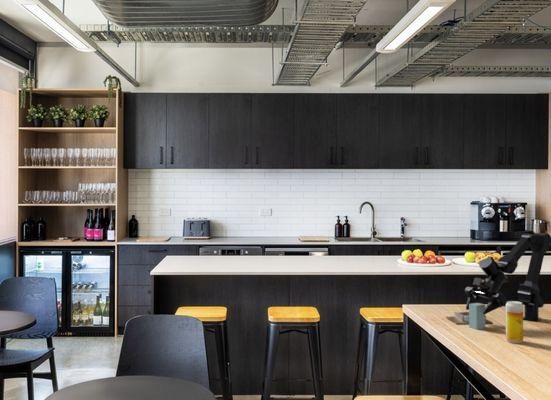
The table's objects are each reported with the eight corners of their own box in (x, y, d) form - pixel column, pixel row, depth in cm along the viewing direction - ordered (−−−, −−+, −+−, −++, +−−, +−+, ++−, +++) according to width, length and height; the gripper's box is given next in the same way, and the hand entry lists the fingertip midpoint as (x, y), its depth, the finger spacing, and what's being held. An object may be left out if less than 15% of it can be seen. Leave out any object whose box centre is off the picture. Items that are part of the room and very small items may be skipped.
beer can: (525, 344, 198) (525, 304, 197) (507, 343, 199) (507, 303, 199) (520, 339, 203) (520, 301, 203) (504, 339, 205) (504, 300, 205)
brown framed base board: (479, 317, 241) (479, 310, 241) (492, 323, 229) (492, 316, 229) (445, 318, 239) (445, 311, 239) (457, 324, 227) (457, 317, 227)
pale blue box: (479, 325, 225) (479, 302, 225) (487, 327, 222) (487, 304, 221) (469, 327, 223) (469, 303, 222) (476, 329, 219) (476, 305, 219)
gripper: (467, 268, 232) (448, 295, 227) (502, 273, 215) (482, 303, 210) (480, 284, 235) (462, 311, 231) (515, 291, 218) (496, 320, 214)
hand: (474, 311), depth 221 cm, fingers open, 9 cm apart
